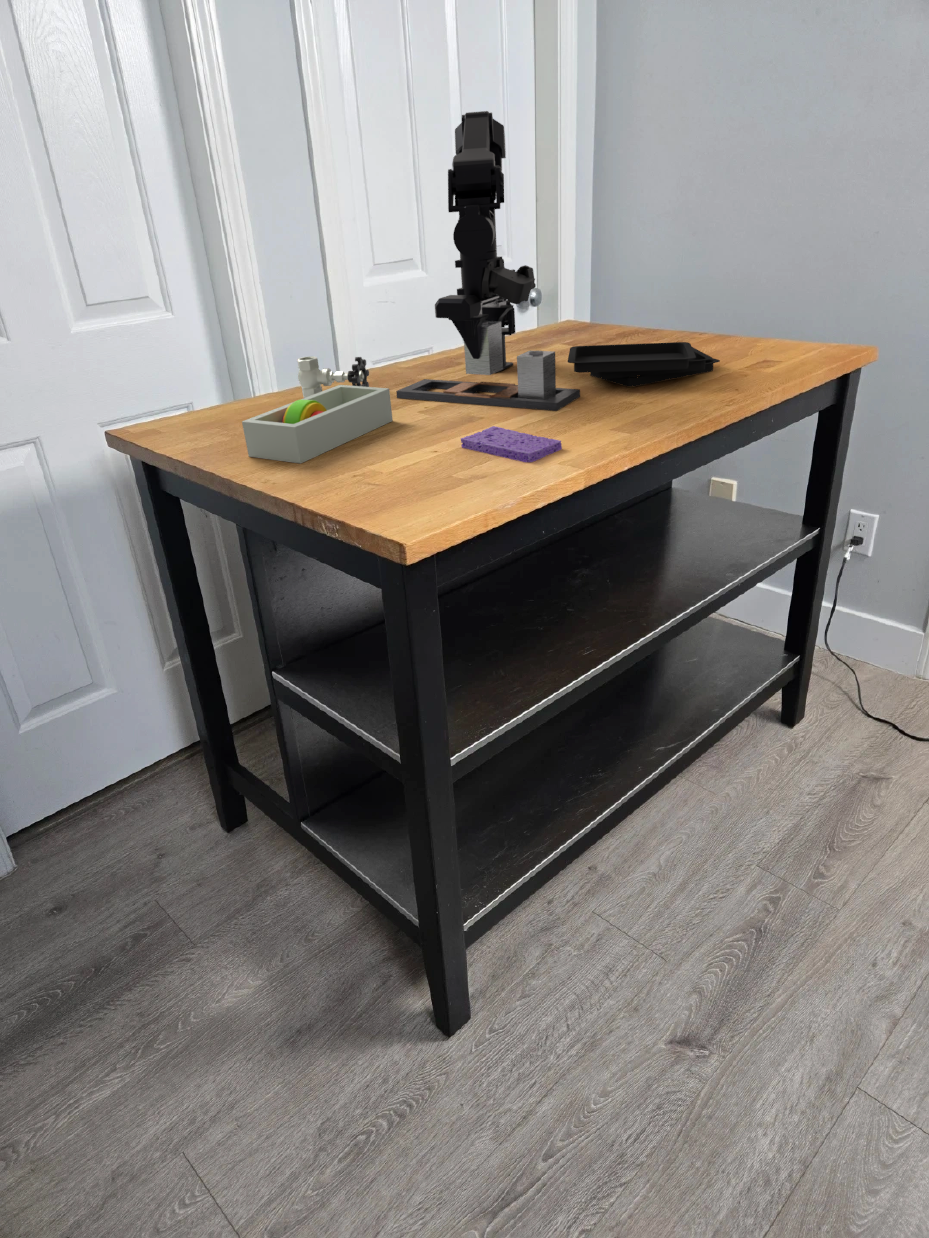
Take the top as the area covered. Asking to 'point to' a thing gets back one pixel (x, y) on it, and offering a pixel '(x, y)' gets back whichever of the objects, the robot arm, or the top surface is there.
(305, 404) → the green arched piece
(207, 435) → the top surface
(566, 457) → the top surface
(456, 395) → the rail
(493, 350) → the knobbed block
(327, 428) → the box
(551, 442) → the sponges
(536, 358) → the grey metal block
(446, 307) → the robot arm
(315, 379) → the valve
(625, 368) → the tray
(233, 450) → the top surface
